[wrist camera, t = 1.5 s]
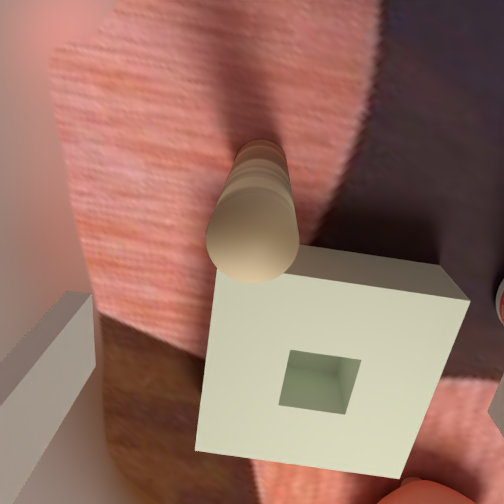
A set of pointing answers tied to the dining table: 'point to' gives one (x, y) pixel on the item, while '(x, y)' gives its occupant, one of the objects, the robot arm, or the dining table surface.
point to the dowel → (255, 217)
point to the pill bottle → (500, 302)
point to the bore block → (328, 361)
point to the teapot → (424, 493)
